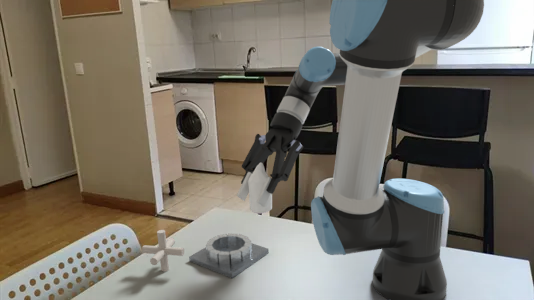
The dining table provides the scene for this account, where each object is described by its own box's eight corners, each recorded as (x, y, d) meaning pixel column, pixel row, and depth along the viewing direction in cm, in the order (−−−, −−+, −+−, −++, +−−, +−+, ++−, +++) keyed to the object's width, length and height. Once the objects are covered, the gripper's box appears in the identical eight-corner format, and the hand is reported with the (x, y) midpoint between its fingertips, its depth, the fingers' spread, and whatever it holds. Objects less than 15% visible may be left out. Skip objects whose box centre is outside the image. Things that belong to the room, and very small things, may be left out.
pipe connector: (176, 282, 99) (172, 242, 96) (136, 279, 101) (130, 240, 98) (192, 260, 108) (189, 223, 106) (155, 257, 110) (150, 221, 108)
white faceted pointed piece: (250, 157, 106) (273, 158, 105) (253, 202, 110) (275, 204, 109) (243, 165, 101) (267, 166, 100) (246, 213, 104) (269, 214, 103)
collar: (268, 253, 111) (268, 239, 110) (232, 278, 100) (231, 263, 99) (227, 239, 119) (226, 226, 118) (189, 261, 108) (188, 247, 107)
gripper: (326, 131, 107) (288, 216, 100) (268, 122, 118) (230, 199, 111) (314, 114, 102) (273, 203, 94) (254, 107, 113) (213, 186, 106)
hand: (250, 201), depth 103 cm, fingers closed on white faceted pointed piece, 5 cm apart
